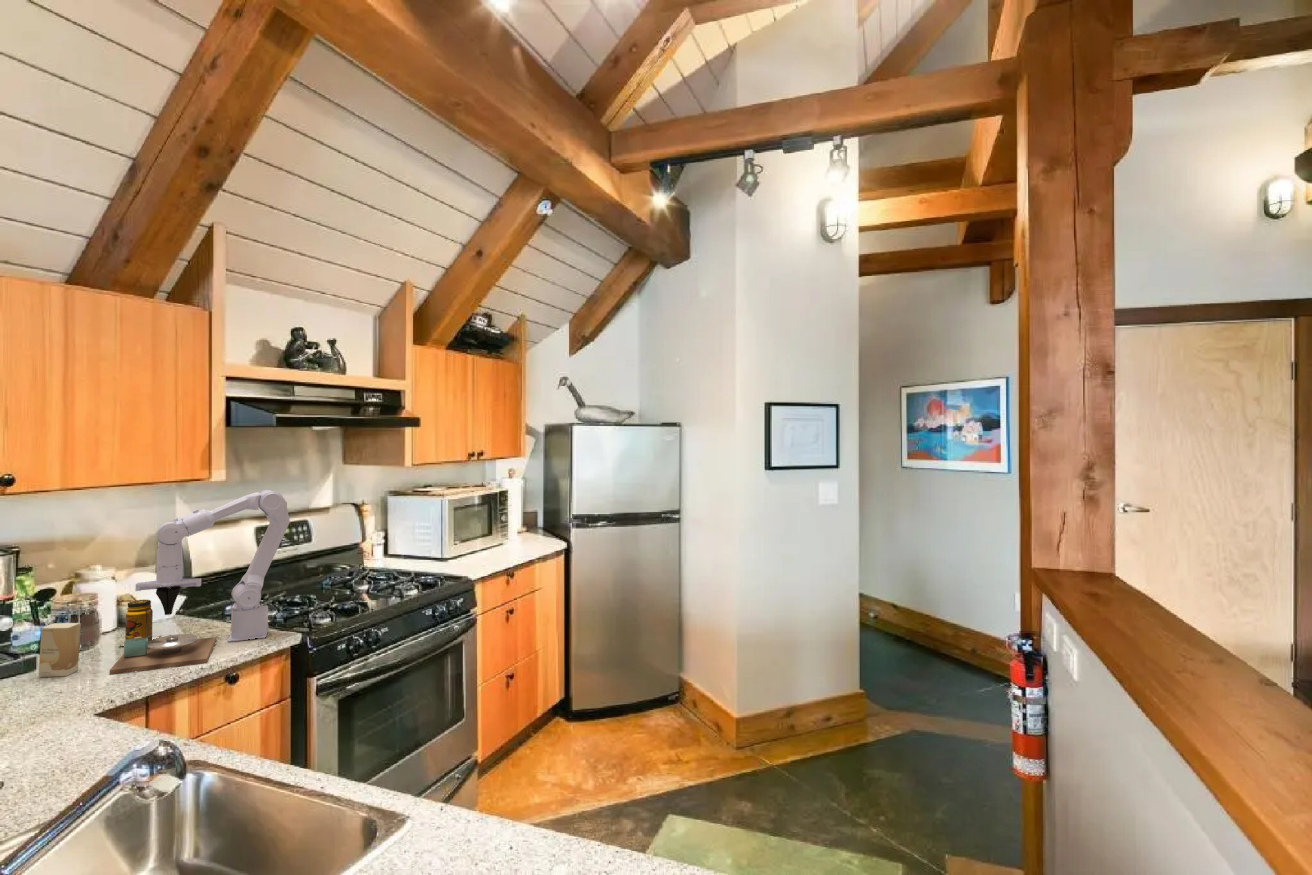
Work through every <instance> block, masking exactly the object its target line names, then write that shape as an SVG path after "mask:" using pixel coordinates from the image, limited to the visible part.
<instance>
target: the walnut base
mask: <svg viewBox="0 0 1312 875" xmlns="http://www.w3.org/2000/svg"><path fill="white" fill-rule="evenodd" d="M136 638H142V637H135V638H134V639H136ZM217 638H218V637H217V636H214V637H213V636H212V637H206V638H205V637H204V638H197V641H196V642H195V643H193V644H190V645H187V646H184V647H179V648H174V649H166V650H151V649H147V653H146V655H140V656H131V657H124V653H123V654H122V655H121V656H120V657H119V658H118V660H116V662H115V663H114V664H113V666H112V667H111V668H110V669H109V676H113V675H118V674H127V673H128V674H129V673H135V671H137V672H143V671H144V672H146V671H151V670H159V669H160V668H162V669H168V668H169V667H170V668H177V667H184V666H185V667H186V666H193V665H200V664H202V665H203V664H207V663H208V661H209V659H210V657H211V655H210V654H212V653H213V650H214V648H215V646H214V645H216V644H217ZM215 643H216V644H215ZM213 647H214V648H213ZM160 670H161V669H160Z"/></svg>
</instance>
